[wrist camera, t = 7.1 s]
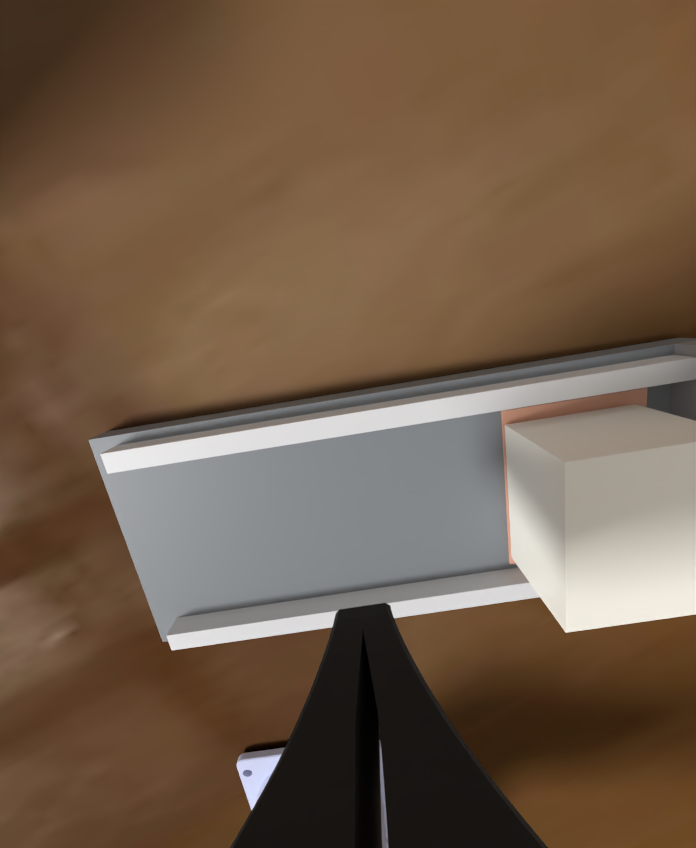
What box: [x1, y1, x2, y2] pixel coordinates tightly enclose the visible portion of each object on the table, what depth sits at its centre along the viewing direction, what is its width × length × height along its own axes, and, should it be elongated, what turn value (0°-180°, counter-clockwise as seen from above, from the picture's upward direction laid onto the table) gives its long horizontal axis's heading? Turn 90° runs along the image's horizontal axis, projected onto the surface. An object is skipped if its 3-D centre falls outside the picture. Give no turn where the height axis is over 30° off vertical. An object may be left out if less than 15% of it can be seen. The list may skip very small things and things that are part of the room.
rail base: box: [89, 338, 696, 650], centre depth 15 cm, size 10×24×4 cm, turn 99°
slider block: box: [505, 404, 696, 633], centre depth 13 cm, size 6×5×4 cm
